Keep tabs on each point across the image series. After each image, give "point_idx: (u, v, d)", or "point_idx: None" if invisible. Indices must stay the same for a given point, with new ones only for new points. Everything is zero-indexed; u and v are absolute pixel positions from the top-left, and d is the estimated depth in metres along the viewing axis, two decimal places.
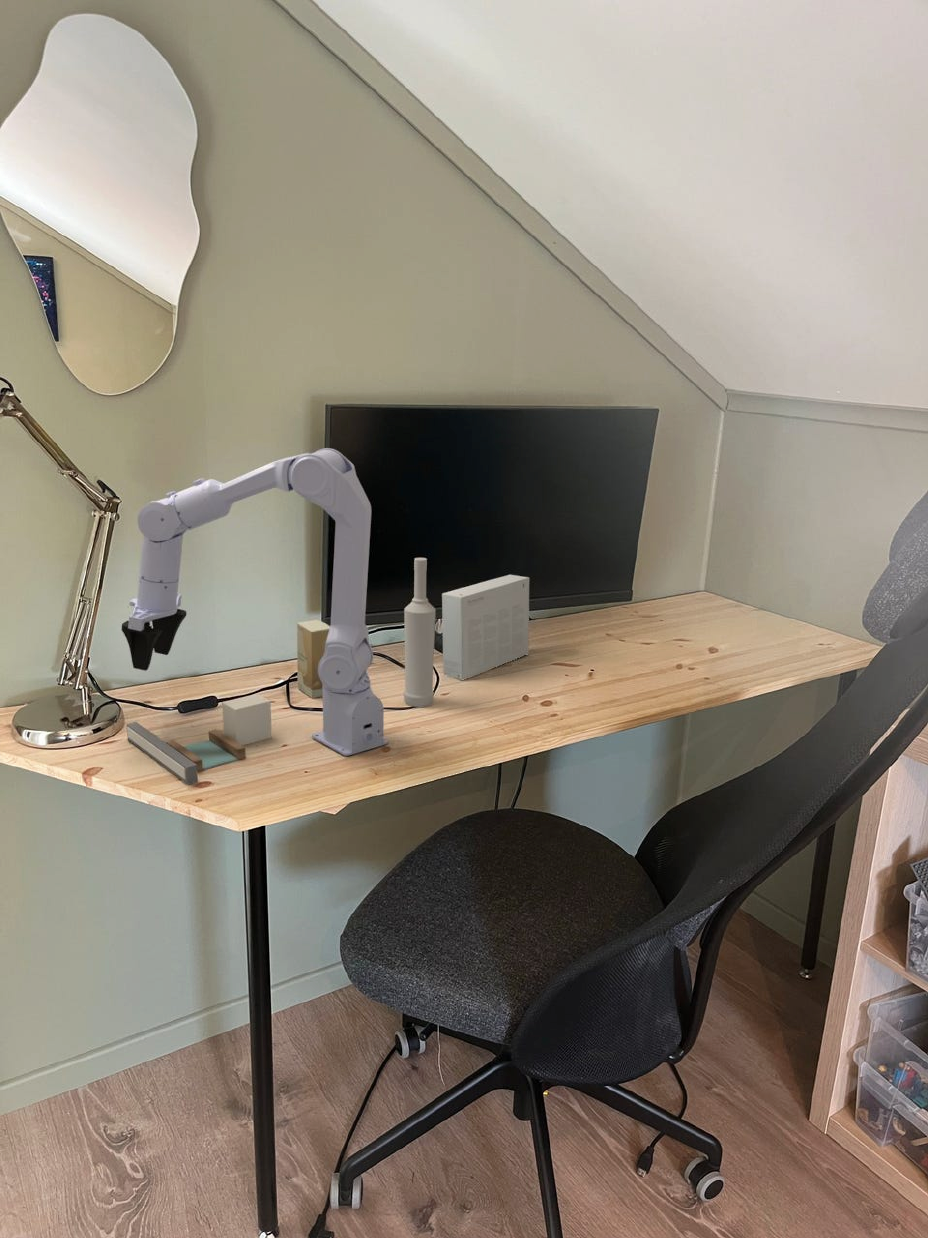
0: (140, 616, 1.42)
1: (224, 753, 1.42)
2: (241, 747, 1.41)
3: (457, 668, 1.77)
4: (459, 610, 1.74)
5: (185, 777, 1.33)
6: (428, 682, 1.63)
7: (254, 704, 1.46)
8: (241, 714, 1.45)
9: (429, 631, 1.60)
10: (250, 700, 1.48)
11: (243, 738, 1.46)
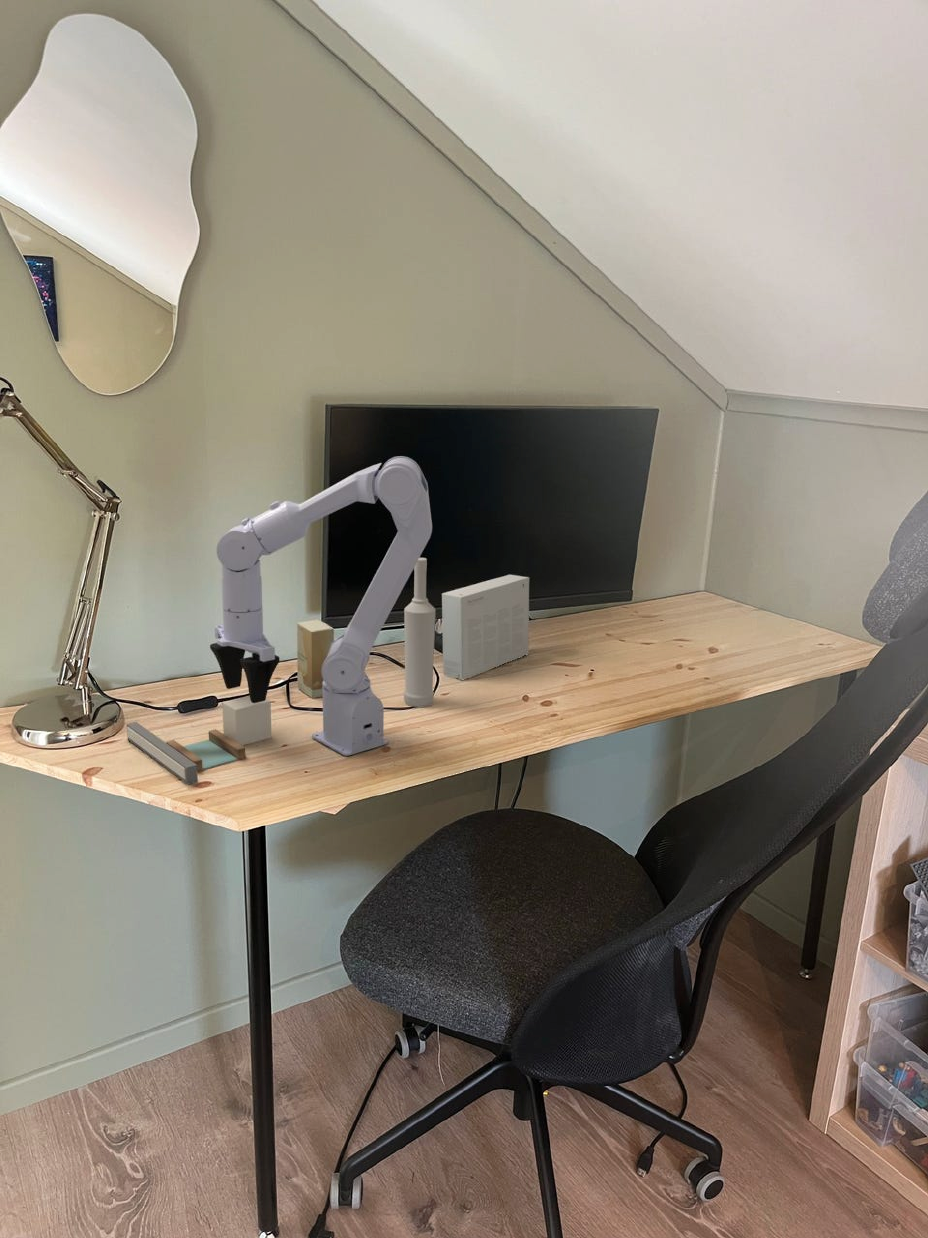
0: None
1: (224, 753, 1.42)
2: (241, 747, 1.41)
3: (457, 668, 1.77)
4: (459, 610, 1.74)
5: (185, 777, 1.33)
6: (428, 682, 1.63)
7: (254, 705, 1.46)
8: (241, 714, 1.45)
9: (429, 631, 1.60)
10: (250, 700, 1.48)
11: (243, 738, 1.46)
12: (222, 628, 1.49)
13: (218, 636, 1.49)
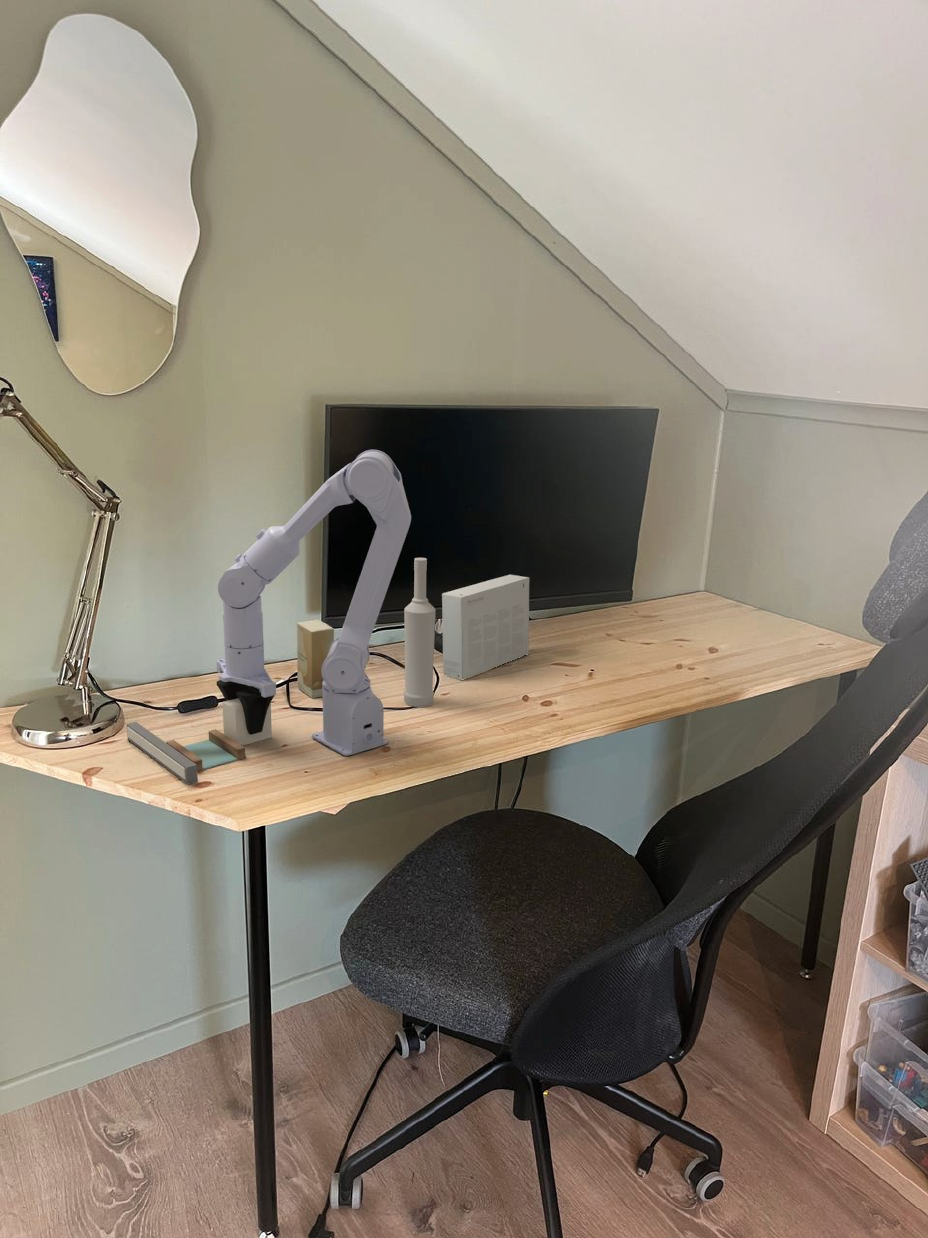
0: (266, 682, 1.42)
1: (224, 753, 1.42)
2: (241, 747, 1.41)
3: (457, 668, 1.77)
4: (459, 610, 1.74)
5: (185, 777, 1.33)
6: (428, 682, 1.63)
7: None
8: (241, 714, 1.45)
9: (429, 631, 1.60)
10: None
11: (243, 738, 1.46)
12: (224, 662, 1.50)
13: (220, 670, 1.50)
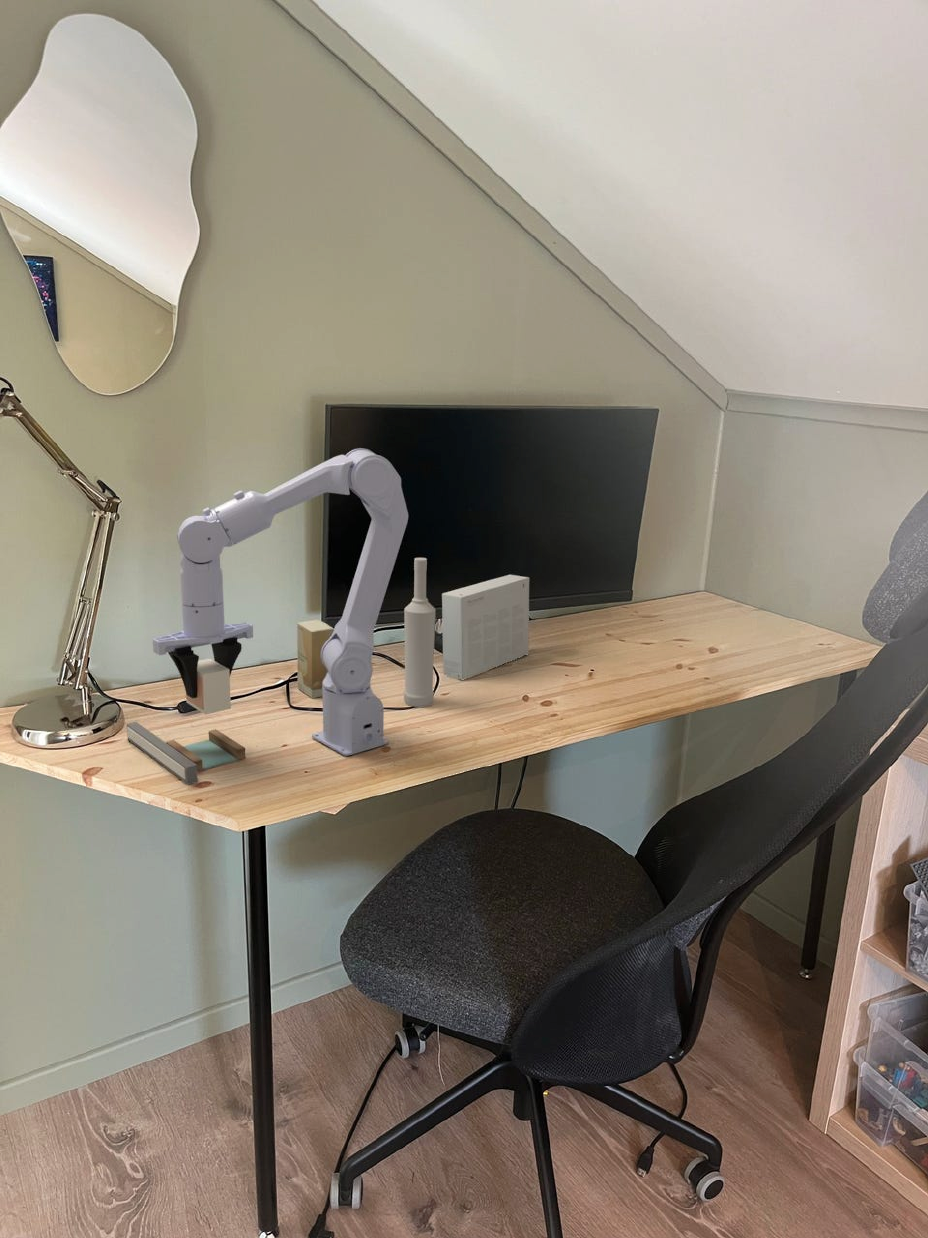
0: None
1: (224, 753, 1.42)
2: (241, 747, 1.41)
3: (457, 668, 1.77)
4: (459, 610, 1.74)
5: (185, 777, 1.33)
6: (428, 682, 1.63)
7: (218, 663, 1.41)
8: None
9: (429, 631, 1.60)
10: (203, 665, 1.40)
11: None
12: (163, 641, 1.34)
13: (165, 650, 1.34)
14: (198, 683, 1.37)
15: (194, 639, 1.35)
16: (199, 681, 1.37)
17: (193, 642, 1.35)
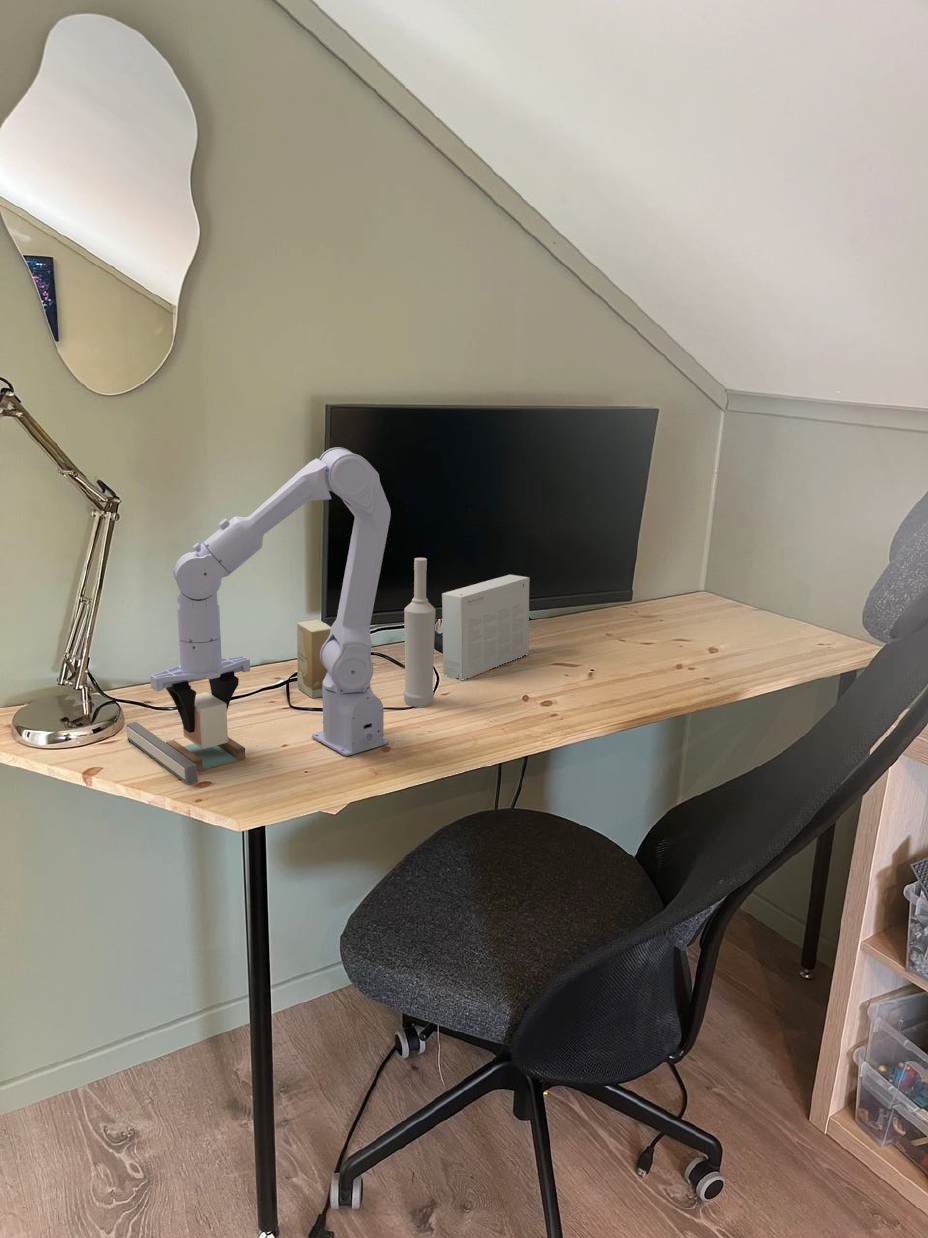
0: None
1: (224, 753, 1.42)
2: (241, 747, 1.41)
3: (457, 668, 1.77)
4: (459, 610, 1.74)
5: (185, 777, 1.33)
6: (428, 682, 1.63)
7: (215, 697, 1.41)
8: None
9: (429, 631, 1.60)
10: (201, 699, 1.40)
11: None
12: (160, 677, 1.34)
13: (163, 686, 1.34)
14: (195, 717, 1.38)
15: (191, 675, 1.35)
16: (196, 716, 1.37)
17: (190, 678, 1.35)
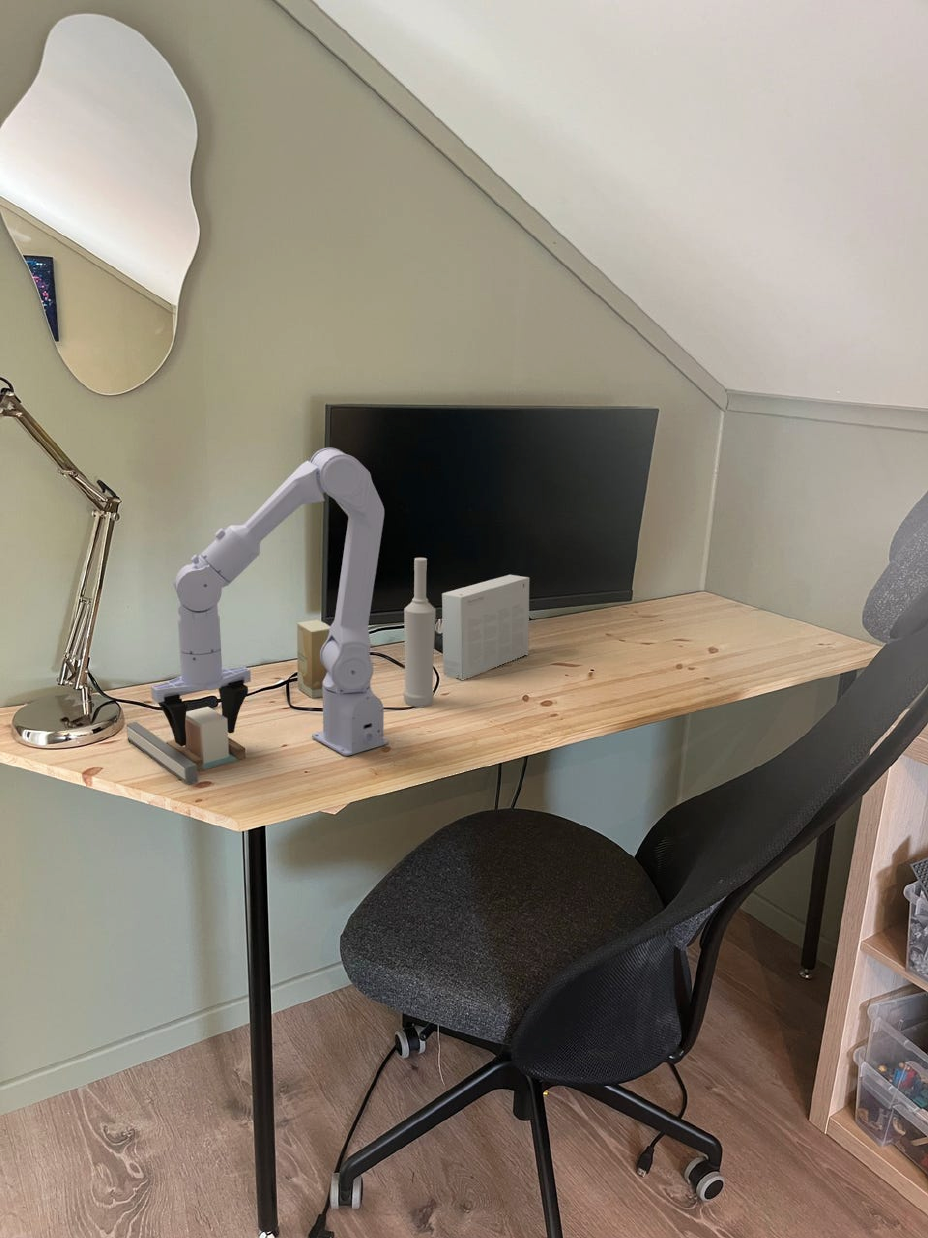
0: (238, 670, 1.43)
1: None
2: (241, 747, 1.41)
3: (457, 668, 1.77)
4: (459, 610, 1.74)
5: (185, 777, 1.33)
6: (428, 682, 1.63)
7: (216, 712, 1.42)
8: None
9: (429, 631, 1.60)
10: (202, 714, 1.41)
11: None
12: (161, 688, 1.35)
13: (164, 698, 1.35)
14: (196, 732, 1.39)
15: (192, 686, 1.36)
16: (197, 731, 1.38)
17: (191, 689, 1.36)
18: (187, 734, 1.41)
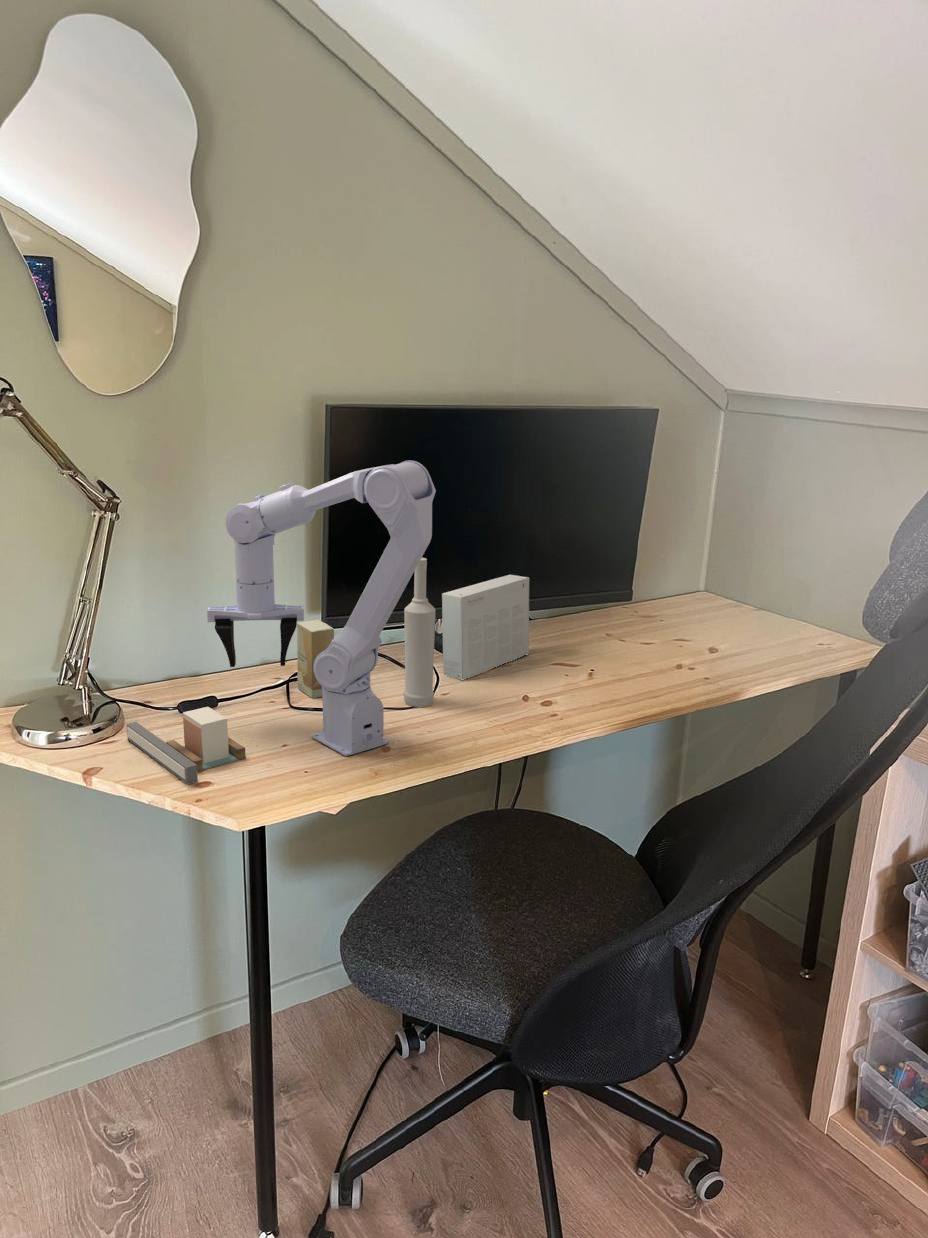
0: None
1: None
2: (241, 747, 1.41)
3: (457, 668, 1.77)
4: (459, 610, 1.74)
5: (185, 777, 1.33)
6: (428, 682, 1.63)
7: (216, 712, 1.42)
8: None
9: (429, 631, 1.60)
10: (202, 714, 1.41)
11: None
12: (214, 610, 1.48)
13: (214, 619, 1.48)
14: (196, 732, 1.39)
15: (237, 612, 1.47)
16: (197, 731, 1.38)
17: (236, 615, 1.47)
18: (187, 734, 1.41)
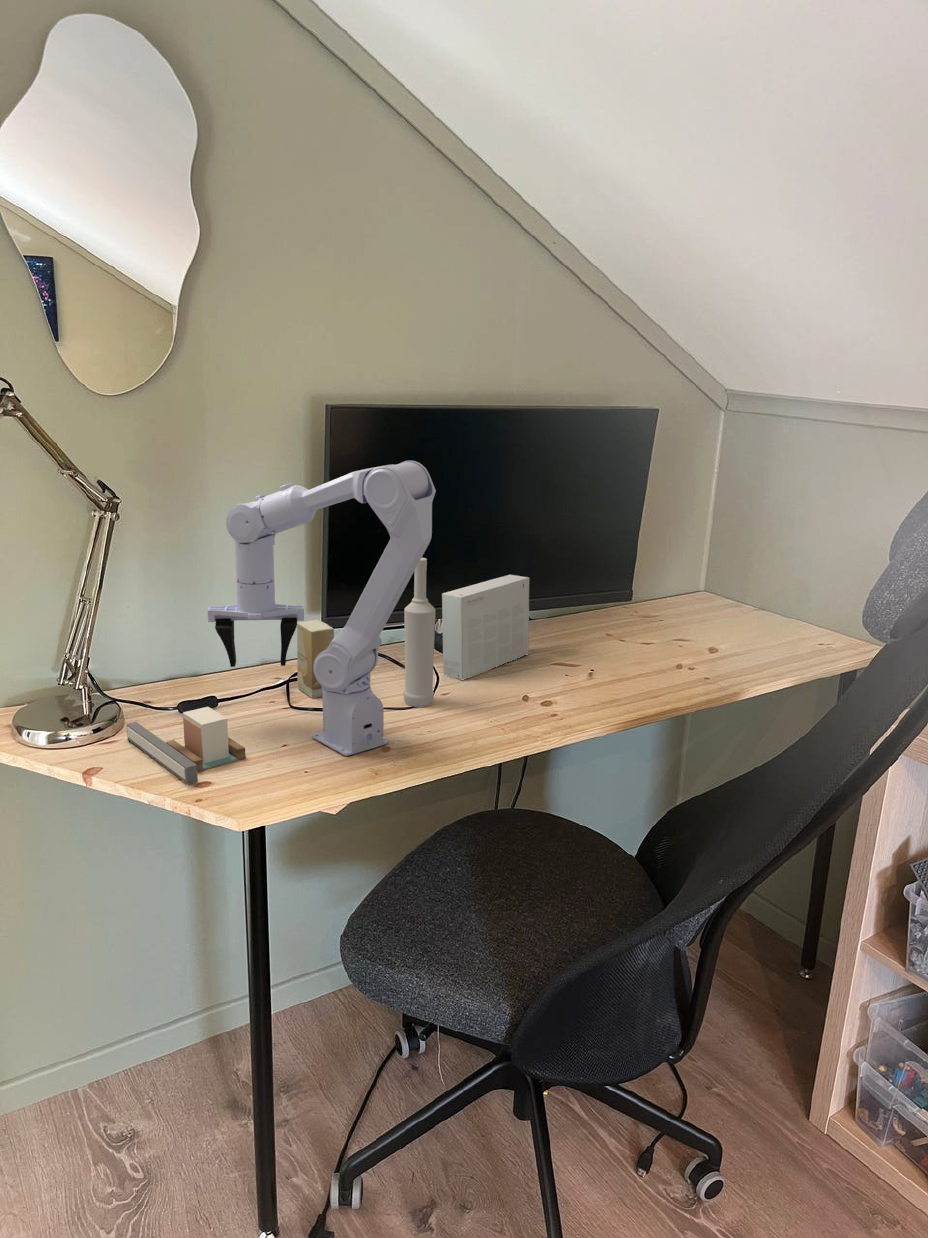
0: None
1: None
2: (241, 747, 1.41)
3: (457, 668, 1.77)
4: (459, 610, 1.74)
5: (185, 777, 1.33)
6: (428, 682, 1.63)
7: (216, 712, 1.42)
8: None
9: (429, 631, 1.60)
10: (202, 714, 1.41)
11: None
12: (215, 610, 1.48)
13: (214, 618, 1.48)
14: (196, 732, 1.39)
15: (238, 612, 1.47)
16: (197, 731, 1.38)
17: (237, 615, 1.47)
18: (187, 734, 1.41)
